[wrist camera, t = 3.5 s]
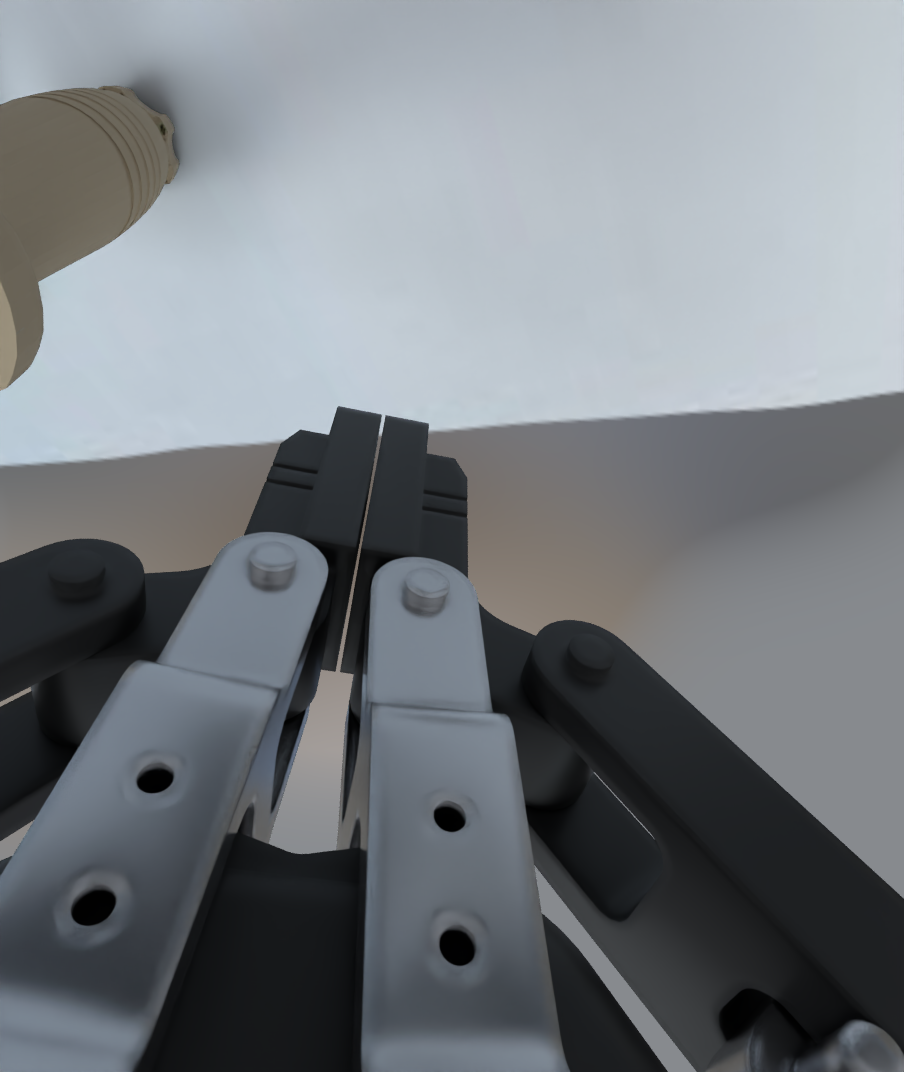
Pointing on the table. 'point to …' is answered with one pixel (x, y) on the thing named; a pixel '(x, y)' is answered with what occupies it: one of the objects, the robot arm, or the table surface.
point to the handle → (69, 194)
